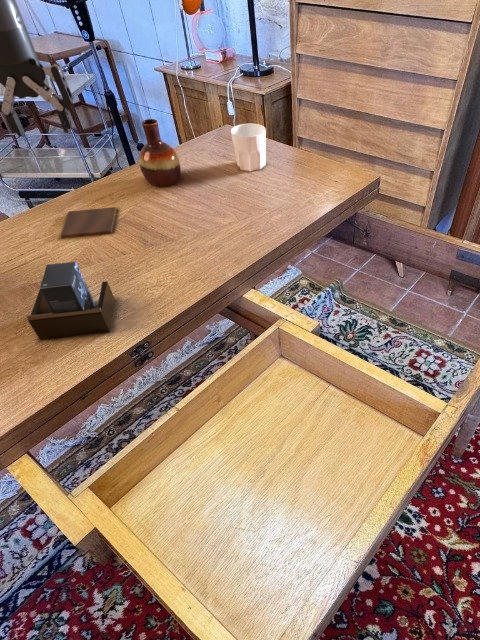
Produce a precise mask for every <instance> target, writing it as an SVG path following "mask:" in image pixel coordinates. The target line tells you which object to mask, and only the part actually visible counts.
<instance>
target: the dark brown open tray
mask: <svg viewBox="0 0 480 640" xmlns="http://www.w3.org/2000/svg"><path fill="white" fill-rule="evenodd" d="M115 304H116V298H115V296H114V293H113V291H112V289H111V287H110V284H109V282H108V281H107V280H105V281H102V283H101V288H100V292H99V298H98V302H97V306H96V307H95V308H90V309H81V310H72V311H63V312H54V313H53V312H52V311H51V309H50V307H49V305H48V303H47V301H46V300H45V298H44V296H43V294H42V292H41V290H40V289H38V293H37V296H36V299H35V301H34V305H33V307H32V311H31V313H30V315H29V314H28V315H26V320H27V321H28V324H29V325H30V327H31V328H32V330H33V331H34V333H35V334H36V336H37V337H38V339H39V341H46V340H54V339H63V338H73V337H79V336H80V337H81V336H89V335H98V334H106V333H111V328H112V324H113V323H112V322H113V316H114V311H115Z"/></svg>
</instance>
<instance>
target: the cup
mask: <svg viewBox="0 0 480 640" xmlns="http://www.w3.org/2000/svg"><path fill="white" fill-rule="evenodd" d="M230 136H231V140H232V145H233V149H234V155H235V159H236V165H237V166H238V167H239V168H240V171H248V172H250V173H251V172H253V171H257V170H258V171H259V170H262V168H264V166H267V165H266V164H267V161H266V160H267V159H266V158H267V153H266V152H267V151H266V149H267V146H266V145H267V143H266V141H267V129H266V127H265V126H264V125H262V124H258V123H240V124H237V125H235V126H233V127H232V128H231V129H230Z"/></svg>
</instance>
